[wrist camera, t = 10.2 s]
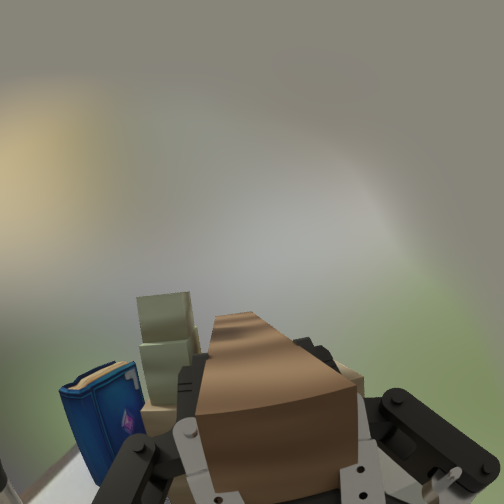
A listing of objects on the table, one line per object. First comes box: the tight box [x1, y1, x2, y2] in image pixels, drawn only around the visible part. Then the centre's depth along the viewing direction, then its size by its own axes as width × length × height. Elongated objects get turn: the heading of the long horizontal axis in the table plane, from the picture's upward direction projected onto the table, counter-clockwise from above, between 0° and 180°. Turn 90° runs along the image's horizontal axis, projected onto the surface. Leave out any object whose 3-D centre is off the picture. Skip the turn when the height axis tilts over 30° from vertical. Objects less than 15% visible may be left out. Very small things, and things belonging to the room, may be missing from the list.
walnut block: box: [195, 312, 358, 504], centre depth 19 cm, size 26×4×4 cm, turn 5°
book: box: [59, 361, 147, 487], centre depth 48 cm, size 22×7×25 cm, turn 171°
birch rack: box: [136, 292, 365, 504], centre depth 21 cm, size 14×14×39 cm
